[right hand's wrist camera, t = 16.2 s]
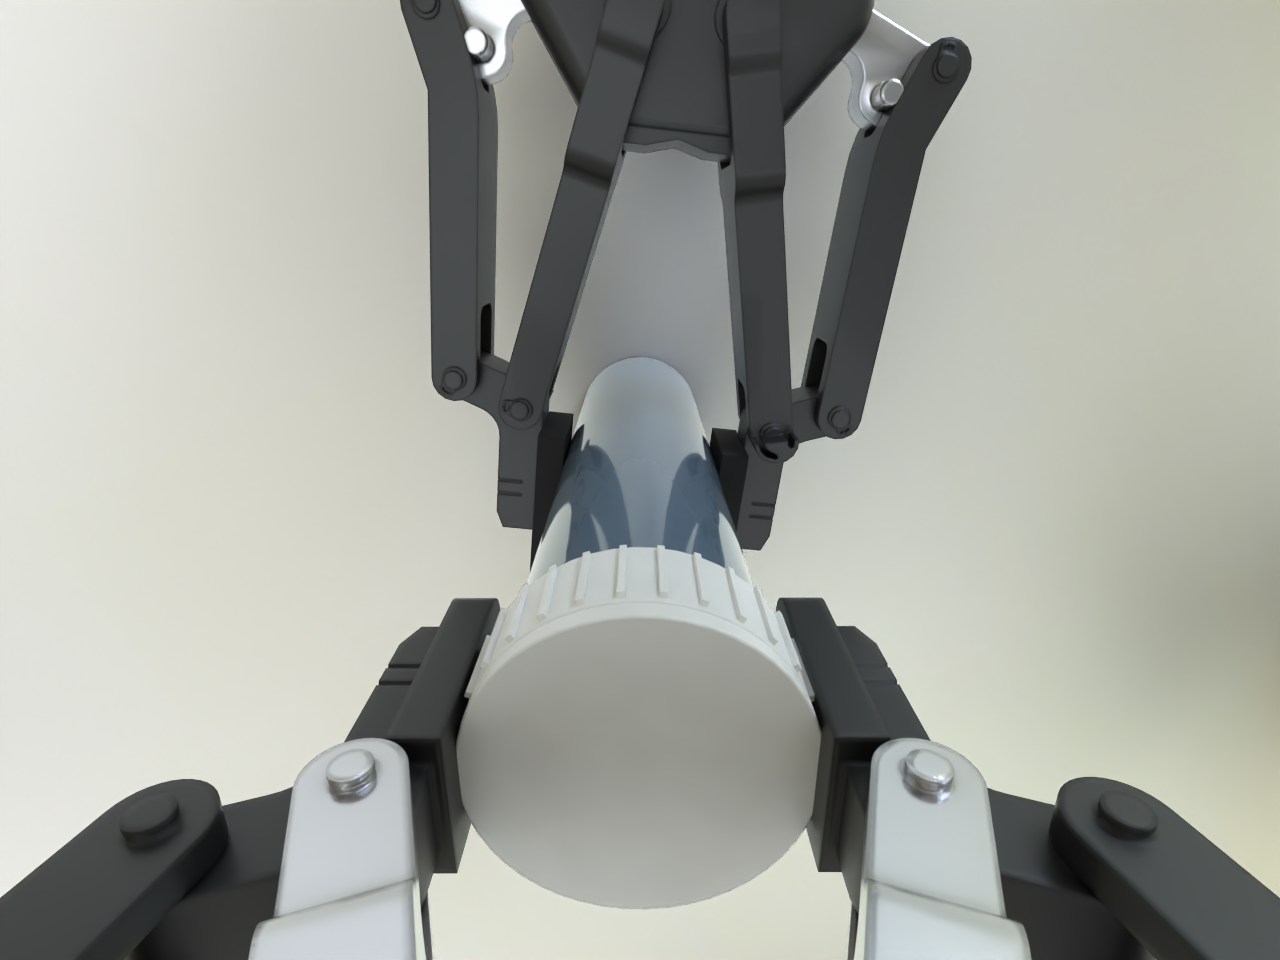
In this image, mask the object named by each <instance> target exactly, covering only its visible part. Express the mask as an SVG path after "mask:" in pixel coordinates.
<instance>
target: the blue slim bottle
mask: <svg viewBox="0 0 1280 960" xmlns="http://www.w3.org/2000/svg"><path fill="white" fill-rule="evenodd" d="M620 545H627V548H629V547H651V548H657V545H663V546H665V549H669V550H675V551H680V552H684V553H687V554H691V555H693V554H694V552H696V553H699V554H701V557H702V558H703V559H706V560H708V561H710V562H713V563H715V564H718V565H720V566H721V567H723V568H725V569H726V568H727V567H728V566H729V567H731V568H733V569H734V571H735V575H737V576H738V577H740V578H741V579H742V580H744V581H745V582H746V583H748V584H749V585H750V586H752V587H753V588H754V586H753V583H752V580H751V577H750V574H749V570H748V567H747V564H746V561H745V558H744V555H743V551H742V548H741V545H740V542H739V539H738V536H737V532H736V529H735V526H734V523H733V520H732V517H731V513H730V510H729V507H728V504H727V501H726V498H725V494H724V491H723V488H722V485H721V482H720V478H719V475H718V472H717V469H716V466H715V463H714V459H713V456H712V453H711V450H710V447H709V444H708V440H707V437H706V434H705V431H704V428H703V425H702V421H701V418H700V415H699V412H698V409H697V406H696V402H695V399H694V396H693V393H692V391H691V389H690V387H689V385H688V383H687V382H686V380H685V379H684V378H683V376H682V375H681V374H680V373H679V372H678V371H677V370H675V369H674V368H673V367H671V366H670V365H668V364H666V363H664V362H662V361H659V360H656V359H652V358H647V357H632V358H626V359H623V360H619V361H617V362H615V363H613V364H611V365H609V366H608V367H606V368H605V369H604V370H602V371H601V372H600V373H599V374H598V375H597V376H596V377H595V379H594V380H593V381H592V383H591V385H590V386H589V388H588V390H587V393H586V396H585V399H584V402H583V405H582V408H581V412H580V415H579V418H578V421H577V424H576V428H575V431H574V434H573V437H572V440H571V444H570V447H569V450H568V453H567V456H566V460H565V463H564V466H563V469H562V472H561V476H560V479H559V482H558V485H557V488H556V492H555V495H554V498H553V501H552V505H551V508H550V511H549V514H548V517H547V521H546V524H545V527H544V530H543V533H542V537H541V540H540V543H539V546H538V549H537V553H536V556H535V559H534V562H533V565H532V569H531V572H530V575H529V578H528V581H527V585H528V586H530V585H531V584H532V583H533V582H534V581H536V580H537V579H539V578H540V577H542V576H543V575H545V574H546V573H548V571H549V567H551V566H553V565H554V564H555V565H556V566H557V567H559V566H561V565H563V564H565V563H567V562H569V561H571V560H574V559H577V558H580V557H582V555H583V553H584V552H587V551H590V553H596V552H601V551H605V550H610V549H618V548H619V546H620Z"/></svg>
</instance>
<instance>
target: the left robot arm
mask: <svg viewBox="0 0 1280 960" xmlns="http://www.w3.org/2000/svg"><path fill="white" fill-rule="evenodd" d="M400 3H401V10H402V13H403V16H404V19H405V22H406V25H407V28H408V31H409V34H410V37H411V40H412V43H413V46H414V49H415V52H416V55H417V58H418V61H419V65H420V68H421V71H422V74H423V77H424V80H425V83H426V86H427V89H428V138H429V213H430V287H431V362H432V381H433V386H434V387H435V389H436V390H437V392H438V393H439V394H440V395H441V396H443V397H444V398H446V399H449V400H453V401H458V400H464V401H466V402H468V403H470V404H473V405H475V406H477V407H479V408H481V409H483V410H485V411H486V412H488V413H489V414H490V415H491V416H492V417H493V418H494V420H495V421H496V423H497V425H498V428H499V435H500V440H499V466H498V494H497V513H498V515H499V518H500V520H501V523H502V526H503V527H511V528H521V529H532V546H531V564H530V572H531V569H532V565H533V562H534V559H535V556H536V553H537V549H538V546H539V543H540V540H541V537H542V533H543V530H544V527H545V524H546V521H547V517H548V514H549V511H550V508H551V505H552V501H553V498H554V495H555V492H556V488H557V485H558V482H559V479H560V476H561V472H562V469H563V466H564V463H565V460H566V456H567V453H568V450H569V447H570V444H571V439H572V426H573V414H569V413H560V412H550V411H549V399H550V397H551V395H552V393H553V391H554V390H553V388H554V384H555V381H556V378H557V375H558V371H559V368H560V365H561V361H562V358H563V355H564V352H565V348H566V345H567V342H568V338H569V335H570V332H571V329H572V325H573V322H574V319H575V315H576V312H577V309H578V305H579V302H580V299H581V296H582V292H583V289H584V286H585V282H586V279H587V276H588V273H589V269H590V266H591V263H592V259H593V256H594V253H595V250H596V246H597V243H598V240H599V236H600V233H601V230H602V227H603V223H604V220H605V217H606V213H607V210H608V207H609V204H610V200H611V197H612V194H613V191H614V188H615V185H616V183H617V180H618V176H619V173H620V170H621V167H622V164H623V160H624V157H625V154H626V151H630V152H639V153H648V152H654V151H660V150H665V149H671V148H674V149H678V150H680V151H682V152H685V153H687V154H689V155H692V156H694V157H696V158H699V159H701V160H707V161H716V162H718V172H719V185H720V193H721V198H722V203H723V212H724V226H725V239H726V253H727V267H728V280H729V294H730V308H731V321H732V335H733V349H734V362H735V376H736V390H737V404H738V415H739V419H740V422H739V428H738V434H737V431H736V430H728V429H718V428H712V434H711V441H710V450H711V453H712V456H713V459H714V463H715V466H716V469H717V472H718V475H719V478H720V482H721V485H722V488H723V491H724V494H725V498H726V501H727V504H728V507H729V510H730V513H731V517H732V520H733V523H734V526H735V529H736V532H737V536H738V539H739V542H740V545H741V548H742V549H751V550H761V549H762V547H763V545H764V544H765V542H766V541H767V539H768V538H769V536H770V531H771V526H772V518H773V515H774V510H775V504H776V499H777V494H778V488H779V483H780V478H781V472H782V467H783V463H784V462H785V461H787V460H788V459H790V458H791V457H792V456H793V455H794V454H795V452H796V451H797V449H798V444H799V443H802V442H805V441H808V440H812V439H817V438H821V437H825V436H827V437H830V438H833V439H843V438H845V437H848V436H850V435H851V434H852V433H853V432H854V431H855V430H856V429H857V428H858V426H859V424H860V422H861V418H862V414H863V410H864V405H865V401H866V397H867V393H868V389H869V385H870V380H871V376H872V372H873V368H874V364H875V359H876V355H877V351H878V347H879V343H880V339H881V334H882V330H883V326H884V322H885V318H886V313H887V309H888V305H889V301H890V297H891V293H892V288H893V284H894V280H895V276H896V272H897V267H898V263H899V259H900V255H901V251H902V246H903V242H904V238H905V234H906V230H907V226H908V221H909V217H910V213H911V209H912V205H913V200H914V196H915V192H916V188H917V184H918V180H919V175H920V171H921V167H922V163H923V159H924V154H925V150H926V148H927V147H928V145H929V143H930V141H931V140H932V138H933V136H934V135H935V133H936V131H937V130H938V128H939V126H940V124H941V123H942V121H943V119H944V118H945V116H946V114H947V113H948V111H949V109H950V107H951V106H952V104H953V102H954V101H955V99H956V97H957V96H958V94H959V92H960V90H961V89H962V87H963V85H964V84H965V82H966V80H967V78H968V75H969V73H970V70H971V55H970V52H969V49H968V47H967V46H966V45H965V44H964V43H963V42H962V41H961V40H959V39H956V38H953V37H948V38H941V39H940V40H938V41H936V42H935V43H933V44H931V45H929V44H927V43H925V42H924V41H922V40H921V39H919V38H917V37H916V36H914V35H913V34H911V33H910V32H908V31H906V30H905V29H903V28H902V27H900V26H899V25H897V24H895V23H894V22H892V21H891V20H889V19H887V18H886V17H884V16H883V15H881V14H880V13H878V12H876V11H875V10H873V6H874V0H400ZM529 21H532V23H533V25H534V27H535V28H536V30H537V32H538V34H539V36H540V38H541V40H542V41H543V43H544V45H545V47H546V49H547V51H548V53H549V54H550V56H551V58H552V60H553V62H554V64H555V66H556V67H557V69H558V71H559V73H560V75H561V77H562V79H563V80H564V82H565V84H566V86H567V88H568V90H569V92H570V93H571V95H572V97H573V99H574V101H575V103H576V105H577V106H578V110H577V113H576V117H575V120H574V124H573V128H572V131H571V135H570V138H569V142H568V146H567V150H566V155H565V160H564V168H563V172H562V176H561V180H560V184H559V187H558V191H557V194H556V198H555V202H554V205H553V209H552V212H551V216H550V219H549V223H548V227H547V230H546V234H545V237H544V241H543V245H542V248H541V252H540V255H539V259H538V263H537V266H536V270H535V273H534V277H533V281H532V284H531V288H530V291H529V295H528V298H527V302H526V306H525V309H524V313H523V316H522V320H521V324H520V327H519V331H518V334H517V338H516V342H515V345H514V349H513V352H512V356H511V360H510V363H509V362H507V361H505V360H503V359H501V358H499V357H497V356H495V355H494V319H495V263H496V207H497V151H498V121H497V107H496V100H495V93H494V89H493V84H495V83H498V82H500V81H502V80H503V79H504V78H505V77H506V76H507V75H508V74H509V72H510V70H511V67H512V62H513V56H512V43H513V38H514V36H515V34H516V32H517V30H518V29H519V28H520V27H521V26H522V25H523V24H525V23H527V22H529ZM840 61H842V62H844V63H845V64H846V65H847V67H848V68H849V70H850V72H851V76H852V89H851V93H850V97H849V100H848V112H849V116H850V118H851V119H852V121H853V123H855V124H856V125H857V126H858V127H860V129H859V131H858V133H857V135H856V138H855V141H854V143H853V146H852V149H851V151H850V154H849V158H848V162H847V166H846V170H845V174H844V179H843V184H842V189H841V193H840V198H839V203H838V208H837V213H836V218H835V223H834V228H833V233H832V237H831V242H830V247H829V252H828V257H827V262H826V267H825V272H824V277H823V281H822V286H821V291H820V296H819V301H818V306H817V311H816V316H815V321H814V325H813V330H812V335H811V340H810V345H809V350H808V355H807V360H806V365H805V369H804V374H803V379H802V384H801V387H800V388H796V389H792V390H791V370H790V348H789V326H788V304H787V281H786V259H785V237H784V215H783V191H784V186H785V178H786V166H785V143H784V126H785V125H786V124H787V122H788V121H789V120H790V119H791V118H792V117H793V115H794V114H795V113H796V112H797V111H798V110H799V109H800V107H801V106H802V105H803V104H804V103H805V102H806V101H807V99H808V98H809V97H810V96H811V95H812V94H813V92H814V91H815V90H816V89H817V88H818V87H819V86H820V84H821V83H822V82H823V81H824V80H825V79H826V78H827V76H828V75H829V74H830V73H831V72H832V71H833V70H834V68H835V67H836V66H837V65H838V64H839V63H840Z"/></svg>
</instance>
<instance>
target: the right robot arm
mask: <svg viewBox="0 0 1280 960" xmlns="http://www.w3.org/2000/svg"><path fill="white" fill-rule="evenodd" d="M777 611H780V612H781V614H782V615H783V618H784V621H785V623H786V626H787V629H788V632H789V634H790V637H791V639H792V638H794V640H795V643H796V646H797V648H798V651H799V654H800V656H801V659H802V662H803V665H804V667H805V670H806V673H807V675H808V678H809V681H810V684H811V686H812V689H813V692H814V695H815V696H814V701H813V702H811V703H812V705H813V708H814V711H815V714H816V717H817V719H818V722H819V725H820V728H821V742H820V751H819V760H818V769H817V777H816V786H815V795H814V804H813V812H812V817H811V819H810V821H809V823H808V825H807V827H806V829H807V832H808V836H809V840H810V843H811V847H812V851H813V854H814V858H815V862H816V865H817V869H818V872H842V874H843V877H844V880H845V883H846V887H847V890H848V893H849V896H850V899H851V905H850V912H849V922H848V935H847V947H846V960H1280V898H1279V897H1278V896H1277V895H1275V894H1274V893H1273V892H1272V891H1270V890H1269V889H1268V888H1267V887H1266V886H1264V885H1263V884H1262V883H1261V882H1259V881H1258V880H1257V879H1256V878H1255V877H1253V876H1252V875H1251V874H1250V873H1248V872H1247V871H1246V870H1245V869H1244V868H1242V867H1241V866H1240V865H1239V864H1237V863H1236V862H1235V861H1234V860H1233V859H1231V858H1230V857H1229V856H1228V855H1226V854H1225V853H1224V852H1223V851H1222V850H1220V849H1219V848H1218V847H1217V846H1215V845H1214V844H1213V843H1212V842H1211V841H1209V840H1208V839H1207V838H1206V837H1204V836H1203V835H1202V834H1201V833H1200V832H1198V831H1197V830H1196V829H1195V828H1193V827H1192V826H1191V825H1190V824H1189V823H1187V822H1186V821H1185V820H1184V819H1183V818H1181V817H1180V816H1179V815H1178V814H1176V813H1175V812H1174V811H1173V810H1172V809H1170V808H1169V807H1167V806H1166V805H1165V804H1163V803H1162V802H1161V801H1159V800H1157V799H1156V798H1154V797H1153V796H1151V795H1149V794H1147V793H1145V792H1143V791H1141V790H1139V789H1137V788H1135V787H1132V786H1130V785H1127V784H1124V783H1121V782H1118V781H1115V780H1110V779H1106V778H1098V777H1081V778H1076V779H1073V780H1070V781H1068V782H1067V783H1065V784H1064V785H1063V786H1062V787H1061V788H1060V791H1059V793H1058V796H1057V800H1056V804H1055V805H1051V804H1047V803H1043V802H1039V801H1034V800H1030V799H1026V798H1022V797H1018V796H1013V795H1009V794H1005V793H1002V792H998V791H995V790H992V789H989V788H987V786H986V782H985V780H984V778H983V776H982V775H981V773H980V772H979V771H978V769H977V768H976V767H975V766H974V765H973V764H972V763H971V762H970V761H969V760H967V759H966V758H965V757H964V756H962V755H961V754H959V753H957V752H956V751H954V750H952V749H950V748H948V747H946V746H944V745H941V744H939V743H936V742H932V741H930V739H929V737H928V735H927V733H926V732H925V730H924V728H923V726H922V724H921V723H920V721H919V719H918V717H917V716H916V714H915V712H914V710H913V708H912V707H911V705H910V703H909V701H908V699H907V698H906V696H905V694H904V692H903V691H902V689H901V687H900V685H897V680H896V678H895V676H894V674H893V673H892V671H891V669H890V668H888V666H887V662H886V660H885V658H884V657H883V655H882V653H881V651H880V649H879V648H878V646H877V644H876V643H875V642H874V641H872V640H871V639H870V638H869V637H867V636H866V635H865V634H864V633H862V632H861V631H860V630H859V629H857V628H856V627H855V626H836V624H835V622H834V620H833V618H832V615H831V613H830V611H829V609H828V607H827V605H826V603H825V601H824V600H823V599H822V598H779V599H778V602H777V607H776V612H777ZM499 612H500V605H499V601H498V599H496V598H455V599H453V601H452V602H451V604H450V606H449V608H448V610H447V612H446V614H445V616H444V618H443V620H442V622H441V625H440V627H421V628H420V629H419V630H417V631H416V632H415V633H413V634H412V635H411V636H410V637H408V638H407V639H406V640H405V641H403V642H402V643H401V644H400V645H399V647H398V648H397V650H396V652H395V654H394V655H393V657H392V659H391V661H390V662H389V664H388V668H386V669H385V671H384V673H383V675H382V677H381V678H380V680H379V685H376V687H375V689H374V691H373V692H372V694H371V696H370V698H369V699H368V701H367V703H366V705H365V706H364V708H363V710H362V712H361V713H360V715H359V717H358V719H357V721H356V722H355V724H354V726H353V728H352V729H351V731H350V733H349V735H348V736H347V738H346V740H345V742H344V743H341V744H339V745H336V746H334V747H332V748H330V749H328V750H326V751H324V752H323V753H321V754H319V755H318V756H316V757H315V758H314V759H313V760H311V761H310V762H309V763H308V764H307V765H306V766H305V767H304V768H303V769H302V771H301V772H300V773H299V775H298V776H297V778H296V780H295V782H294V786H293V787H291V788H289V789H286V790H283V791H281V792H277V793H274V794H270V795H266V796H262V797H258V798H254V799H250V800H245V801H241V802H237V803H233V804H229V805H225V806H222V804H221V801H220V797H219V794H218V792H217V790H216V789H215V788H214V786H212V785H211V784H209V783H207V782H204V781H201V780H195V779H180V780H173V781H168V782H164V783H160V784H157V785H154V786H151V787H148V788H146V789H143V790H141V791H139V792H136V793H134V794H133V795H131V796H129V797H127V798H125V799H123V800H122V801H120V802H119V803H117V804H115V805H114V806H113V807H111V808H110V809H109V810H107V811H106V812H105V813H104V814H102V815H101V816H100V817H99V818H97V819H96V820H95V821H94V822H93V823H91V824H90V825H89V826H88V827H86V828H85V829H84V830H83V831H82V832H80V833H79V834H78V835H77V836H75V837H74V838H73V839H72V840H71V841H69V842H68V843H67V844H66V845H64V846H63V847H62V848H61V849H60V850H58V851H57V852H56V853H55V854H53V855H52V856H51V857H50V858H49V859H47V860H46V861H45V862H44V863H43V864H41V865H40V866H39V867H38V868H36V869H35V870H34V871H33V872H32V873H30V874H29V875H28V876H27V877H25V878H24V879H23V880H22V881H21V882H19V883H18V884H17V885H16V886H14V887H13V888H12V889H11V890H10V891H8V892H7V893H6V894H5V895H3V896H2V897H1V898H0V960H434V947H433V935H432V922H431V912H430V905H429V898H428V888H429V885H430V882H431V878H432V875H433V873H457V872H458V868H459V864H460V861H461V857H462V854H463V850H464V847H465V843H466V839H467V836H468V832H469V829H470V825H471V821H470V820H469V818H468V816H467V814H466V811H465V809H464V806H463V803H462V797H461V789H460V780H459V771H458V763H457V752H456V739H457V736H458V732H459V728H460V724H461V721H462V718H463V715H464V712H465V710H466V707H467V704H468V701H469V698H466V697H464V695H465V692H466V689H467V686H468V684H469V681H470V678H471V676H472V673H473V670H474V668H475V665H476V662H477V660H478V657H479V654H480V651H481V649H482V646H483V643H484V641H485V638H486V635H489V636H491V634H492V631H493V628H494V625H495V623H496V620H497V617H498V614H499Z"/></svg>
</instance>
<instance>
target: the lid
mask: <svg viewBox="0 0 1280 960" xmlns="http://www.w3.org/2000/svg"><path fill="white" fill-rule="evenodd" d="M814 696H815V695H814V692H813V689H812V686H811V684H810V681H809V678H808V675H807V673H806V670H805V667H804V665H803V662H802V659H801V656H800V654H799V651H798V648H797V646H796V643H795V640H794V638H792V639H791V637H790V634H789V632H788V629H787V626H786V623H785V621H784V618H783V615H782V614H781V612H780V611H777V612H774V611H773V609H772V608H771V607H770V605H769V604H768V603H767V601H766V600H765V599H764V596H763V593H762V590H761V589H760V588H759V587H758V586H756V587H755V588H753V587H752V586H750V585H749V584H748V583H746V582H745V581H744V580H742V579H741V578H740V577H738V576H737V575H735V571H734V569H733V568H731V567H729V566H728V567H727V568H726V569H725V568H723V567H721V566H720V565H718V564H715V563H713V562H710V561H708V560H706V559H703V558H702V557H701V554H699V553H696V552H694V554H693V555H691V554H687V553H684V552H680V551H675V550H669V549H665V546H663V545H657V548H651V547H629V548H627V545H620V546H619V548H618V549H610V550H605V551H601V552H596V553H590V551H587V552H584V553H583V555H582V557H580V558H577V559H574V560H571V561H569V562H567V563H565V564H563V565H561V566H559V567H557V566H556V565H555V564H554V565H553V566H551V567H549V571H548V573H546V574H545V575H543V576H542V577H540V578H539V579H537V580H536V581H534V582H533V583H532V584H531V585H530V586H528V585H527V584H524V585H523V586H522V587H521V589H520V592H519V595H518V597H517V598H516V599H515V600H514V601H513V603H512V604H511V605H510V606H509V607H508V608H507V610H506V609H505V608H502V609H501V610H500V612H499V614H498V617H497V620H496V623H495V625H494V628H493V631H492V634H491V636H489V635H486V638H485V641H484V643H483V646H482V649H481V651H480V654H479V657H478V660H477V662H476V665H475V668H474V670H473V673H472V676H471V678H470V681H469V684H468V686H467V689H466V692H465V695H464V697H466V698H469V701H468V704H467V707H466V710H465V712H464V715H463V718H462V721H461V724H460V728H459V732H458V736H457V739H456V752H457V763H458V771H459V780H460V789H461V797H462V803H463V806H464V809H465V811H466V814H467V816H468V818H469V820H470V821H471V823H472V825H473V826H474V828H475V830H476V831H477V833H478V835H479V836H480V837H481V838H482V839H483V841H484V842H485V843H486V844H487V846H488V847H489V848H490V849H491V850H492V851H493V852H494V853H495V854H496V855H497V856H498V857H499V858H500V859H501V860H502V861H503V862H504V863H505V864H507V865H508V866H509V867H511V868H512V869H514V870H515V871H516V872H518V873H519V874H520V875H522V876H523V877H525V878H527V879H528V880H530V881H532V882H534V883H535V884H537V885H539V886H541V887H543V888H545V889H548V890H550V891H552V892H554V893H557V894H559V895H562V896H565V897H568V898H571V899H574V900H577V901H580V902H585V903H589V904H594V905H599V906H605V907H613V908H622V909H656V908H668V907H674V906H680V905H686V904H691V903H695V902H698V901H702V900H706V899H709V898H712V897H715V896H718V895H720V894H723V893H725V892H728V891H731V890H732V889H734V888H736V887H738V886H740V885H742V884H744V883H746V882H748V881H750V880H751V879H753V878H755V877H756V876H758V875H759V874H761V873H762V872H764V871H765V870H767V869H768V868H769V867H770V866H771V865H773V864H774V863H775V862H776V861H777V860H779V859H780V858H781V857H782V856H783V855H784V854H785V853H786V852H787V851H788V850H789V849H790V848H791V846H792V845H793V844H794V843H795V842H796V841H797V839H798V838H799V836H800V835H801V834H802V832H803V831H804V829H805V828H806V827H807V825H808V823H809V821H810V819H811V817H812V812H813V804H814V795H815V786H816V777H817V769H818V760H819V751H820V742H821V728H820V725H819V722H818V719H817V717H816V714H815V711H814V708H813V705H812V703H811V702H813V701H814Z"/></svg>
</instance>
